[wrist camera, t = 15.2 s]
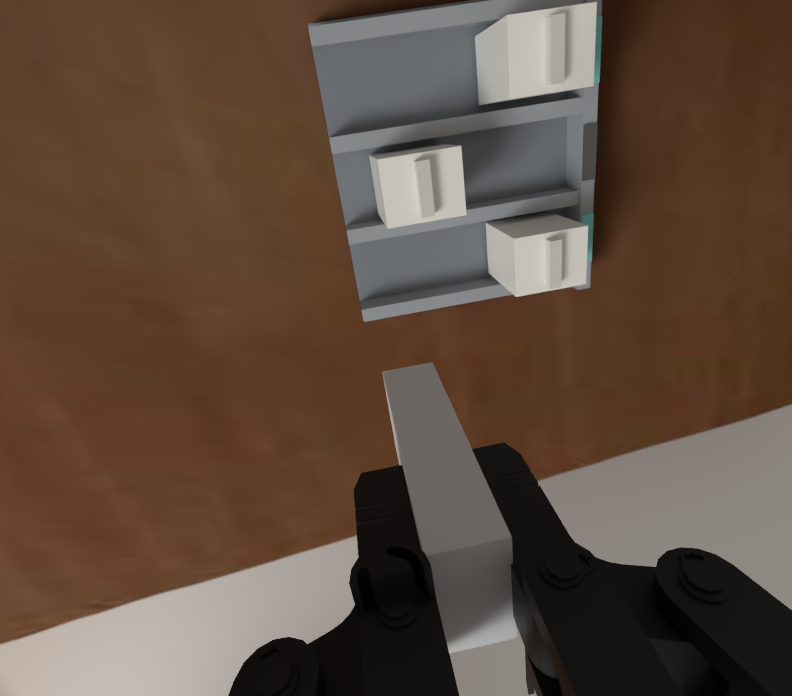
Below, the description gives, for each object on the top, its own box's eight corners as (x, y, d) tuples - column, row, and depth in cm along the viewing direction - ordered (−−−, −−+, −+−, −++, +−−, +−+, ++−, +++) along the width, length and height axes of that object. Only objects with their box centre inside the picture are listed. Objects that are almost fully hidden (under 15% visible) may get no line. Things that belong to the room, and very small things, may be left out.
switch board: (308, 28, 30) (305, 14, 26) (575, -11, 31) (605, -29, 28) (362, 313, 38) (365, 330, 35) (569, 275, 40) (591, 288, 36)
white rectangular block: (474, 36, 30) (511, 11, 24) (548, 25, 30) (603, -2, 24) (478, 105, 32) (514, 98, 26) (548, 94, 32) (600, 84, 26)
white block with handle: (485, 222, 35) (518, 241, 29) (548, 211, 35) (593, 227, 29) (488, 273, 37) (519, 300, 31) (548, 262, 37) (591, 287, 31)
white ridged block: (369, 155, 32) (378, 160, 26) (439, 143, 32) (464, 145, 26) (378, 213, 34) (389, 230, 28) (444, 202, 34) (469, 216, 28)
